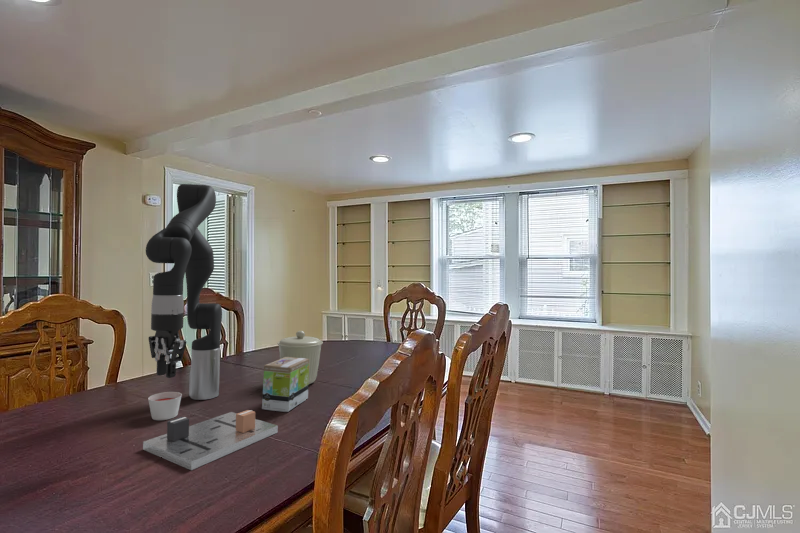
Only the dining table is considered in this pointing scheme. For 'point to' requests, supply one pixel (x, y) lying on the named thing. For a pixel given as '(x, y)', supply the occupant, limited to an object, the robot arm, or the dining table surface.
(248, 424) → the fader terracotta
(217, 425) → the mixing board
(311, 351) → the canister
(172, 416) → the candle
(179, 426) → the fader black
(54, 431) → the dining table surface
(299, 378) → the tea box
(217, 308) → the robot arm
